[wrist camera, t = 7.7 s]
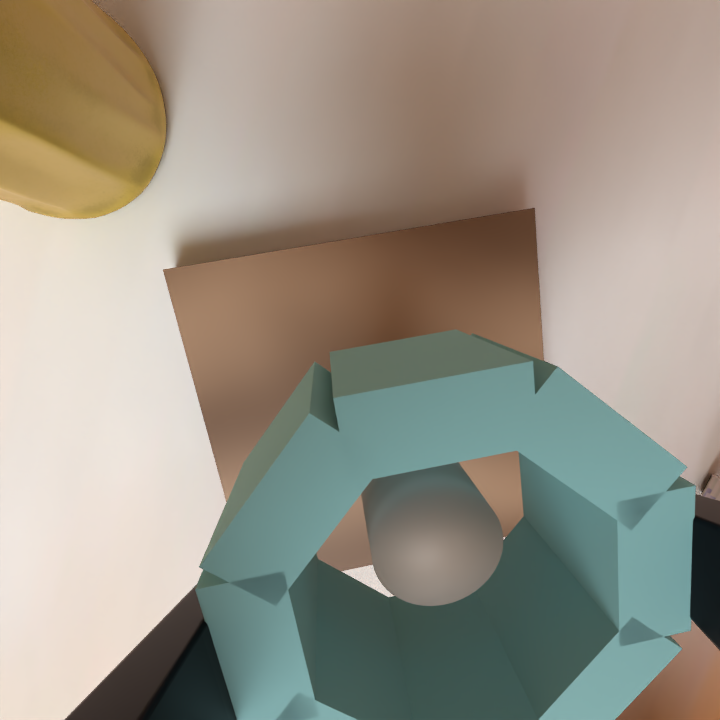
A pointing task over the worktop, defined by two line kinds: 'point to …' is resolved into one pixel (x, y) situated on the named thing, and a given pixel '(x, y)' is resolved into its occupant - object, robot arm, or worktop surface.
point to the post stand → (360, 328)
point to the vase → (74, 110)
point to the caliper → (712, 488)
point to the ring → (504, 587)
